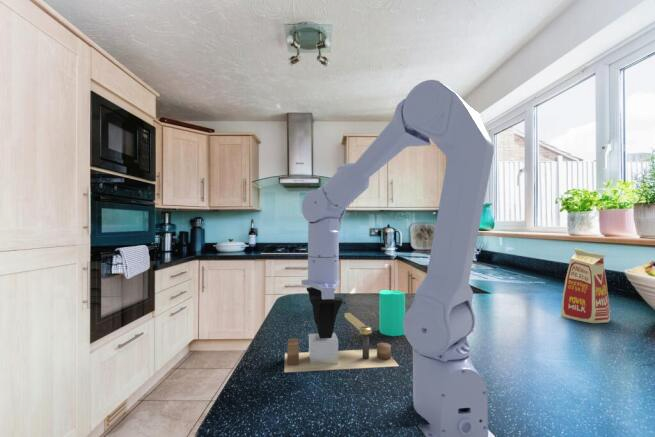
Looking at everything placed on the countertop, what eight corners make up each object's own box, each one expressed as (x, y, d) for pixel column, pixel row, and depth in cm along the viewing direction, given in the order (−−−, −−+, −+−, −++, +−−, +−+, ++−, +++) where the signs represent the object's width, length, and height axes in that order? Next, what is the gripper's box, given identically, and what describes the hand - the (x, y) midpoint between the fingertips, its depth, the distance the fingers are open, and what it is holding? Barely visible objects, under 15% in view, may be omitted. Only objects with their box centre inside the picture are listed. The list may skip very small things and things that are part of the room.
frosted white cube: (338, 364, 54) (338, 340, 54) (310, 365, 53) (310, 341, 54) (334, 355, 58) (335, 332, 58) (308, 356, 57) (308, 333, 58)
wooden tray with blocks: (399, 372, 53) (399, 341, 54) (284, 379, 51) (284, 346, 51) (385, 354, 61) (384, 326, 61) (284, 359, 59) (285, 330, 59)
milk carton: (560, 316, 89) (558, 248, 90) (578, 313, 93) (576, 247, 94) (598, 325, 81) (596, 250, 82) (616, 320, 85) (613, 249, 86)
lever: (362, 335, 56) (362, 330, 56) (342, 317, 67) (342, 313, 67) (373, 334, 56) (373, 329, 56) (351, 316, 68) (351, 312, 68)
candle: (406, 342, 68) (405, 288, 69) (379, 340, 69) (378, 287, 70) (404, 333, 74) (404, 283, 75) (379, 331, 75) (379, 283, 76)
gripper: (300, 253, 63) (299, 319, 63) (303, 260, 49) (302, 346, 48) (333, 253, 64) (333, 318, 64) (346, 259, 50) (346, 344, 49)
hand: (322, 330), depth 56 cm, fingers open, 7 cm apart
